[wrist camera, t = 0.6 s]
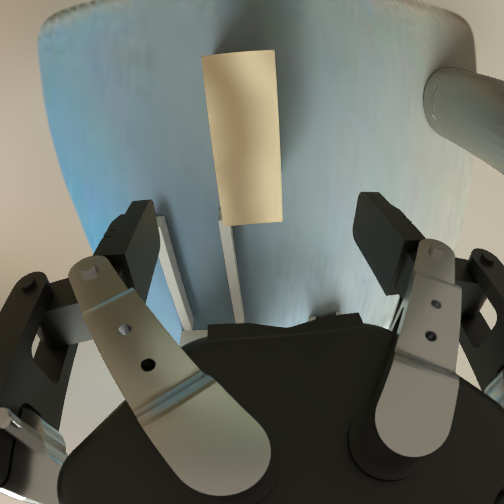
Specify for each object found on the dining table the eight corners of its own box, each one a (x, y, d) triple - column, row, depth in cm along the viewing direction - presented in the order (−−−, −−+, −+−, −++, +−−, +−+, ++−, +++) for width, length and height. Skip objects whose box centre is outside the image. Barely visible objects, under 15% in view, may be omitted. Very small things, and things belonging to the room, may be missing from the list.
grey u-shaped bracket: (242, 207, 34) (250, 386, 17) (257, 344, 50) (266, 468, 32) (143, 218, 34) (78, 381, 17) (188, 348, 50) (179, 468, 32)
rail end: (263, 53, 24) (274, 49, 17) (271, 185, 33) (282, 227, 26) (211, 58, 24) (201, 56, 17) (227, 188, 33) (224, 232, 26)
